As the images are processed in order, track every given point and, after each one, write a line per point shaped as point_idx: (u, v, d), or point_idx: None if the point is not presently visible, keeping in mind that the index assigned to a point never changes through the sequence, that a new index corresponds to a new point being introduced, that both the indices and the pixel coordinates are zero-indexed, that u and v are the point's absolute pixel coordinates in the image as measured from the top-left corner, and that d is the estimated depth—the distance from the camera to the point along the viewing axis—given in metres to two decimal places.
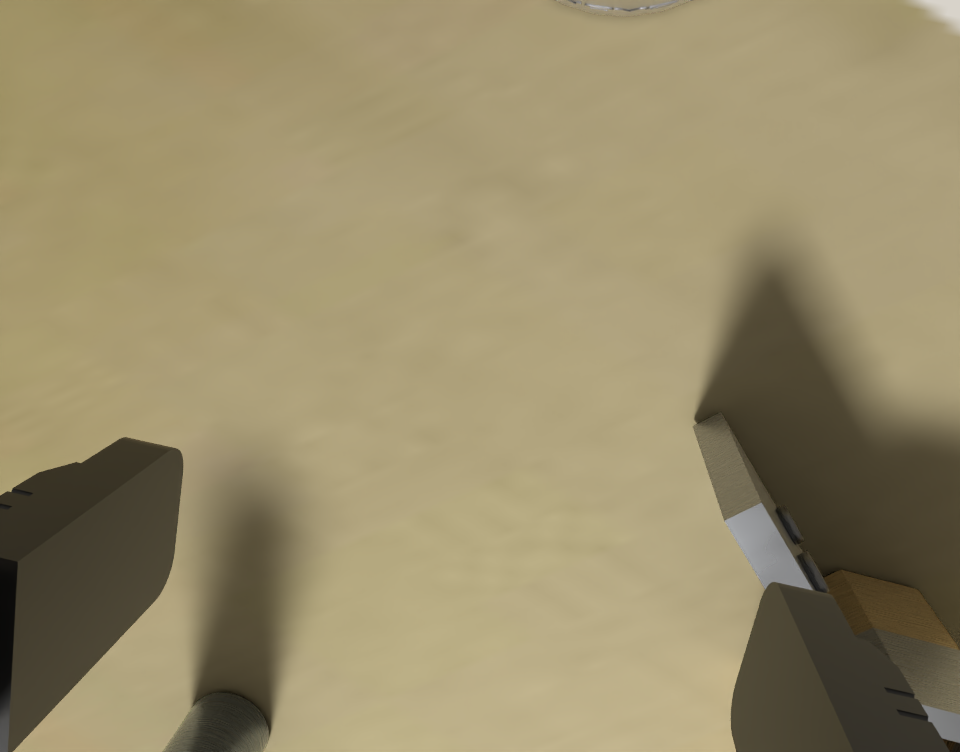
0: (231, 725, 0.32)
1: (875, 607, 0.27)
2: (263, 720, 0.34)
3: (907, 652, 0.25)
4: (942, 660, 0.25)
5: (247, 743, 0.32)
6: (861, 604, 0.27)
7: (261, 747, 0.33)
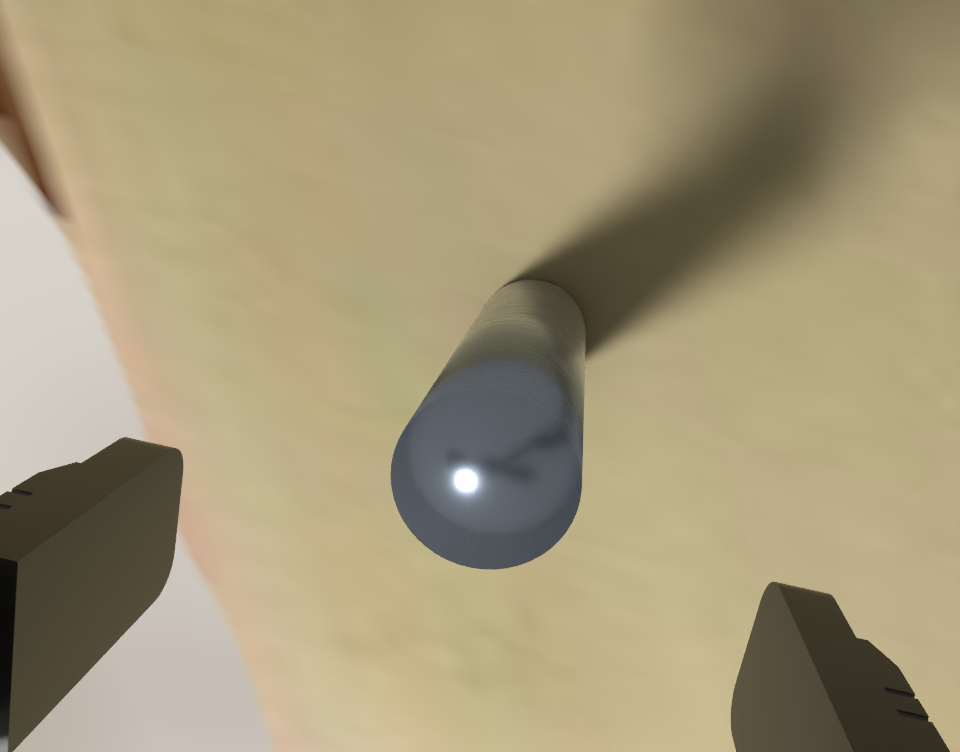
0: (583, 330, 0.25)
1: None
2: None
3: None
4: None
5: None
6: None
7: None
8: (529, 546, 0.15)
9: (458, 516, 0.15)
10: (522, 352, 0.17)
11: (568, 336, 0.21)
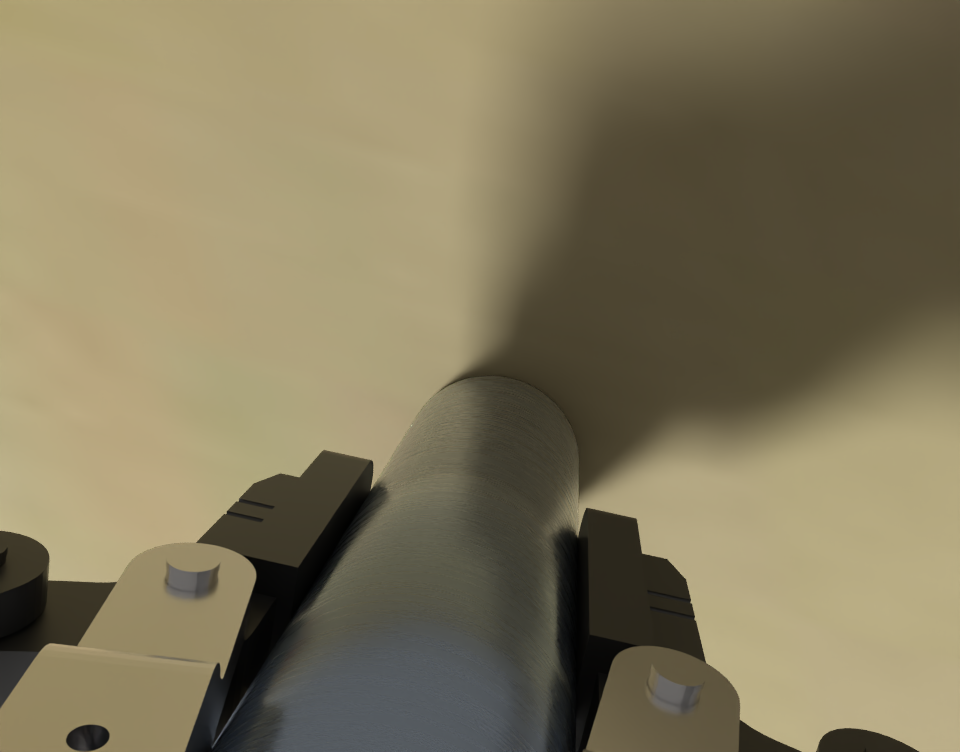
0: (575, 469, 0.15)
1: None
2: None
3: None
4: None
5: None
6: None
7: None
8: None
9: None
10: (429, 659, 0.07)
11: (546, 525, 0.11)
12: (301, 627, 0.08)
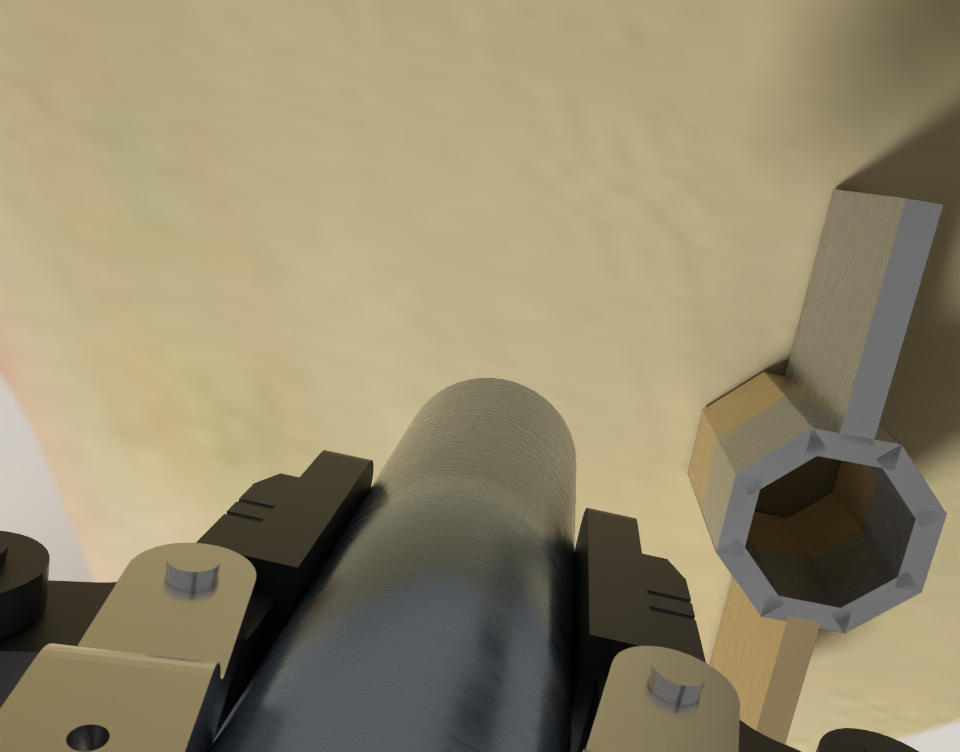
0: (572, 470, 0.15)
1: None
2: None
3: None
4: None
5: None
6: None
7: None
8: None
9: None
10: (424, 662, 0.07)
11: (542, 528, 0.11)
12: (296, 630, 0.08)
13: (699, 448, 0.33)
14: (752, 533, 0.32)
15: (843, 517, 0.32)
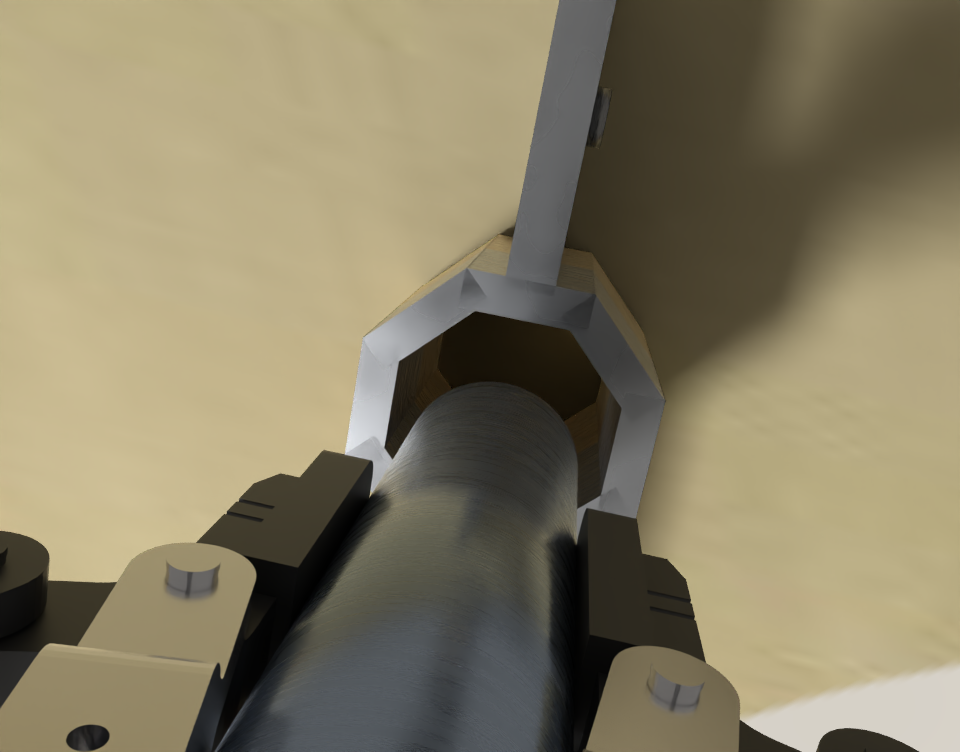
0: (574, 475, 0.15)
1: (603, 279, 0.22)
2: None
3: (610, 301, 0.20)
4: (634, 338, 0.20)
5: None
6: None
7: None
8: None
9: None
10: (427, 670, 0.07)
11: (544, 533, 0.11)
12: (300, 637, 0.08)
13: None
14: None
15: (589, 428, 0.23)
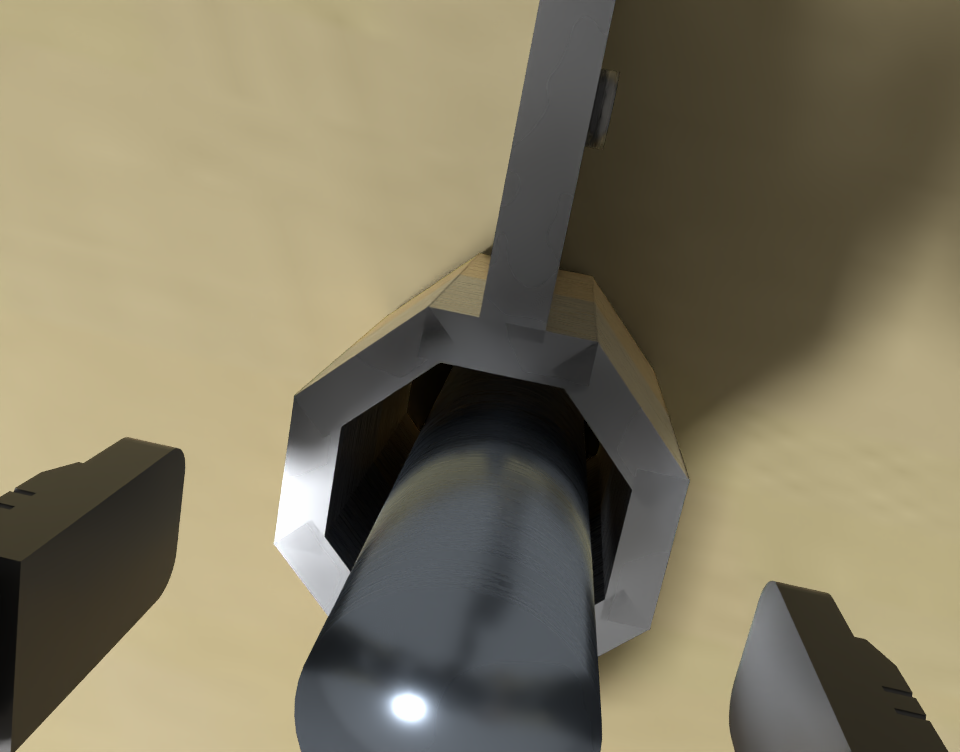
0: None
1: (606, 311, 0.18)
2: None
3: (616, 343, 0.16)
4: (647, 389, 0.16)
5: None
6: (593, 294, 0.18)
7: None
8: None
9: None
10: (503, 484, 0.12)
11: (565, 428, 0.15)
12: (411, 477, 0.12)
13: None
14: None
15: (589, 492, 0.19)
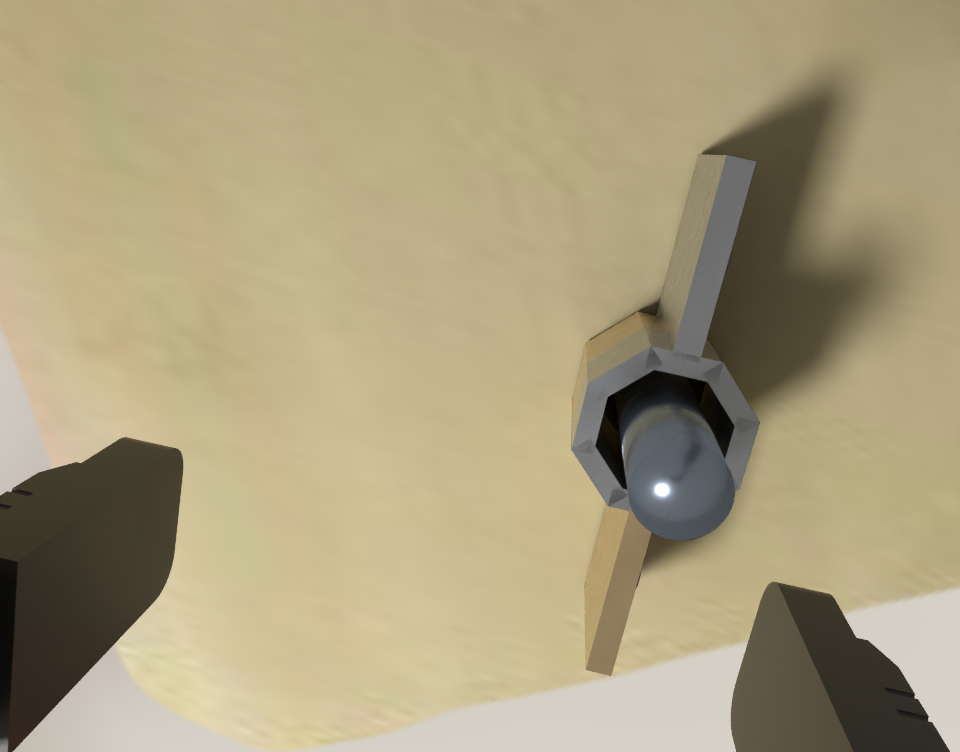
0: None
1: None
2: None
3: None
4: None
5: None
6: None
7: None
8: (703, 527, 0.27)
9: (664, 511, 0.27)
10: (686, 416, 0.30)
11: (696, 400, 0.33)
12: (643, 415, 0.30)
13: (579, 374, 0.38)
14: (620, 448, 0.37)
15: None
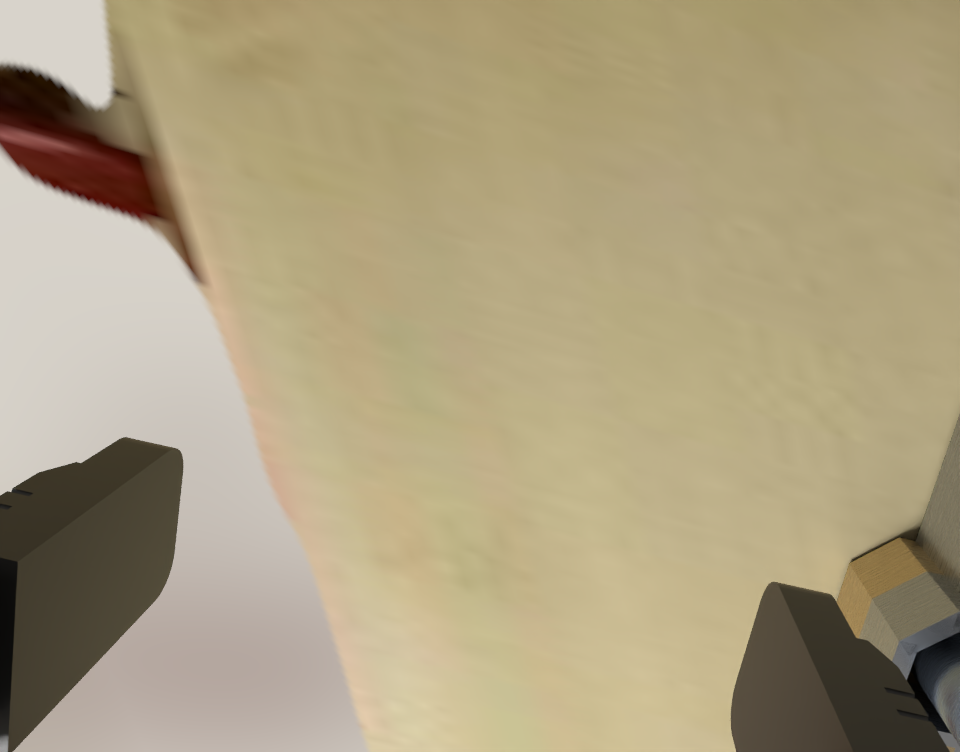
0: None
1: None
2: None
3: None
4: None
5: None
6: None
7: None
8: None
9: None
10: None
11: None
12: None
13: (848, 595, 0.42)
14: None
15: None
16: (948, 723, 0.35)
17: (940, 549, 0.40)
